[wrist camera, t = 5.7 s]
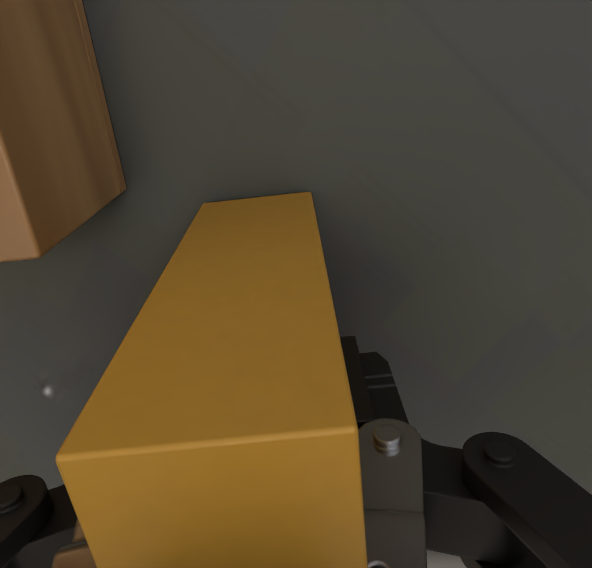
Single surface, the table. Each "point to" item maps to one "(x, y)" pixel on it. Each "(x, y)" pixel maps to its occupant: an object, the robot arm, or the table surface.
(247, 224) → the book
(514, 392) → the table surface
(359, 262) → the table surface
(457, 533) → the robot arm
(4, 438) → the table surface
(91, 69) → the caddy
